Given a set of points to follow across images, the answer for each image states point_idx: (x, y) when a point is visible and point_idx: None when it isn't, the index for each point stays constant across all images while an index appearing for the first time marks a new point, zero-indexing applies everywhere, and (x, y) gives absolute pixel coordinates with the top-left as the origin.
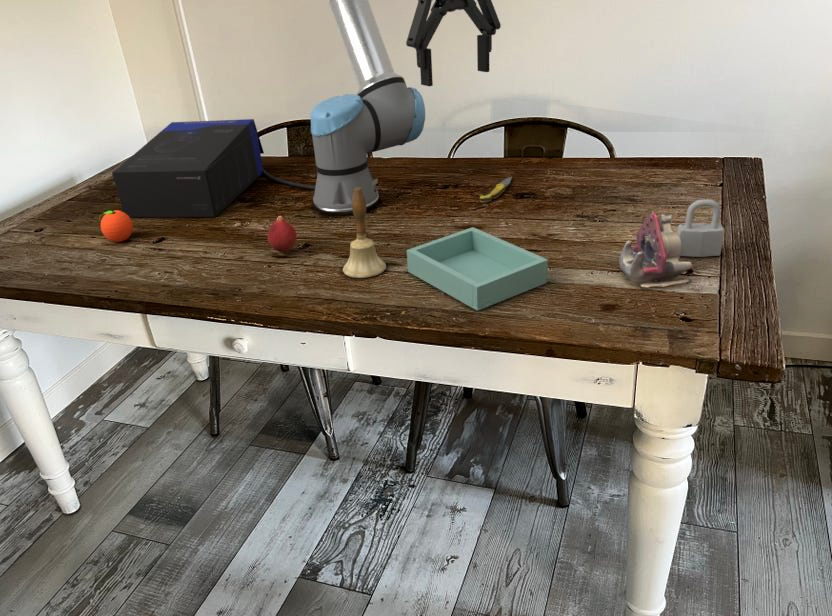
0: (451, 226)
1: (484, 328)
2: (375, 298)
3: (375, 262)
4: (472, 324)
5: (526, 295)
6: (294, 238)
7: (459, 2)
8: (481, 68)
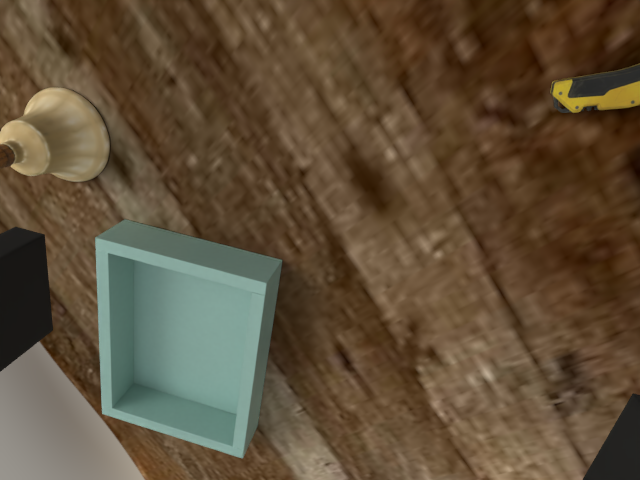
0: (348, 138)
1: None
2: None
3: (63, 174)
4: (99, 396)
5: None
6: None
7: None
8: (615, 459)
